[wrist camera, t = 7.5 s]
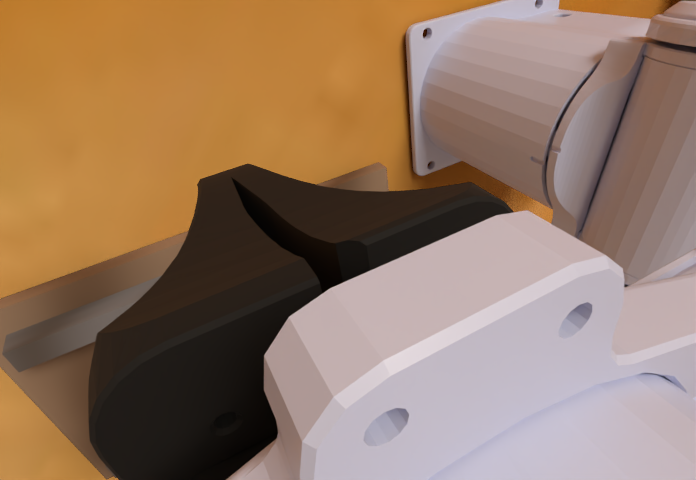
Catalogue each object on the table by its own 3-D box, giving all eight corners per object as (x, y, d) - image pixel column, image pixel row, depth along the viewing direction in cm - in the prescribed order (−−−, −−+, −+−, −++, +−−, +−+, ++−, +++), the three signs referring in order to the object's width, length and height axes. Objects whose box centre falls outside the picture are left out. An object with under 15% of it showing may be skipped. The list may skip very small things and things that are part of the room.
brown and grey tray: (378, 162, 24) (418, 189, 21) (396, 325, 32) (426, 361, 29) (-37, 312, 18) (-59, 377, 16) (106, 467, 26) (108, 530, 23)
